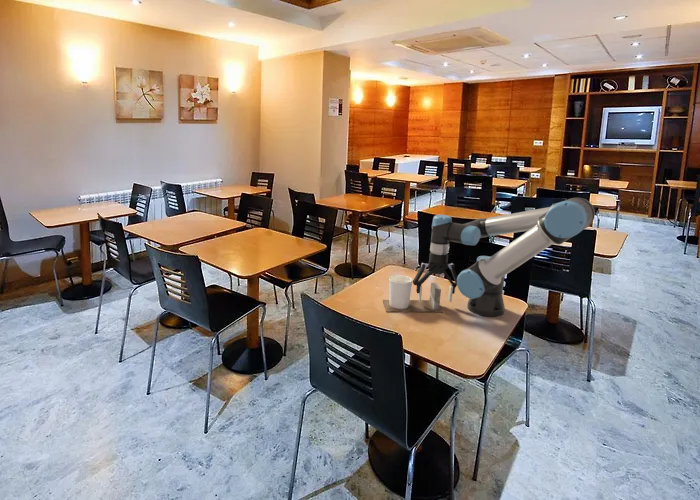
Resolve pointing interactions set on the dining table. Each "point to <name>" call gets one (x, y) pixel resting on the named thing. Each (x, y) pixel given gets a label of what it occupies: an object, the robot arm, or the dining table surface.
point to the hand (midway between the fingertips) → (434, 300)
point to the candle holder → (399, 291)
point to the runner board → (421, 303)
